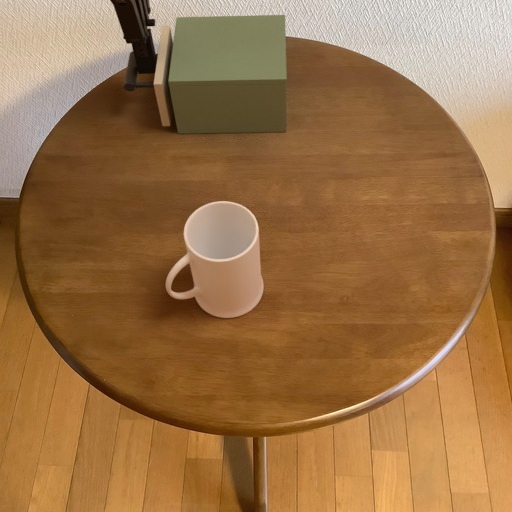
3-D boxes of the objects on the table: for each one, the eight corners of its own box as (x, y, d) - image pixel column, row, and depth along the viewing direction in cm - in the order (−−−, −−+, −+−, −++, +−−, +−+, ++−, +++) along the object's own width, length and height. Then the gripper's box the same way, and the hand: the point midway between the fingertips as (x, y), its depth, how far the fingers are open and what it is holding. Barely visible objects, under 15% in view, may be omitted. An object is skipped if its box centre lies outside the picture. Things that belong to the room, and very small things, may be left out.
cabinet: (178, 133, 93) (168, 81, 84) (184, 70, 100) (176, 17, 92) (286, 132, 92) (286, 78, 84) (284, 68, 100) (285, 14, 92)
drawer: (128, 127, 92) (116, 84, 86) (138, 69, 99) (128, 26, 93) (262, 124, 92) (261, 81, 85) (262, 67, 99) (261, 23, 92)
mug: (187, 342, 74) (173, 290, 64) (158, 288, 78) (140, 230, 68) (276, 299, 76) (275, 242, 66) (243, 248, 81) (237, 187, 71)
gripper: (138, -65, 68) (170, 101, 88) (150, -125, 75) (177, 40, 95) (69, -63, 69) (116, 102, 88) (88, -123, 76) (128, 41, 95)
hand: (148, 70), depth 92 cm, fingers closed
